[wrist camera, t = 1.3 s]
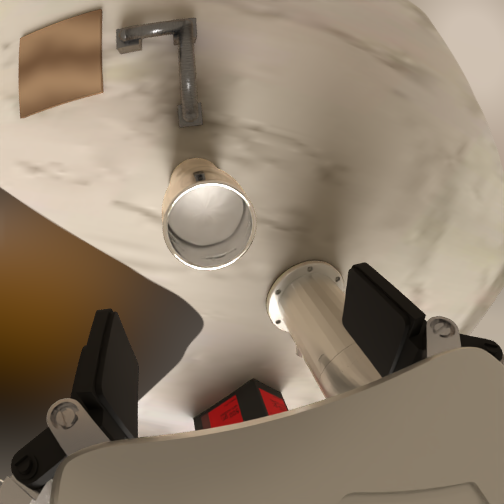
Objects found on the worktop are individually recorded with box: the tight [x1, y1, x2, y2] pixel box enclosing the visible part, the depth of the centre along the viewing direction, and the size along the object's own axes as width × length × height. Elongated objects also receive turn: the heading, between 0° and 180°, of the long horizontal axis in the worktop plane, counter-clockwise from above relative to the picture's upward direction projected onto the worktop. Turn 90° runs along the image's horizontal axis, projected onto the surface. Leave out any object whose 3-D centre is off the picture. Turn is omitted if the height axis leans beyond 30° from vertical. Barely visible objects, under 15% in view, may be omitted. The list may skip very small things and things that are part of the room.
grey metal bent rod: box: [116, 18, 203, 127], centre depth 25 cm, size 12×8×4 cm
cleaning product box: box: [194, 379, 288, 431], centre depth 44 cm, size 16×9×20 cm, turn 130°
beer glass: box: [162, 158, 257, 270], centre depth 26 cm, size 7×7×15 cm
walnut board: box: [19, 9, 103, 118], centre depth 22 cm, size 11×11×1 cm
